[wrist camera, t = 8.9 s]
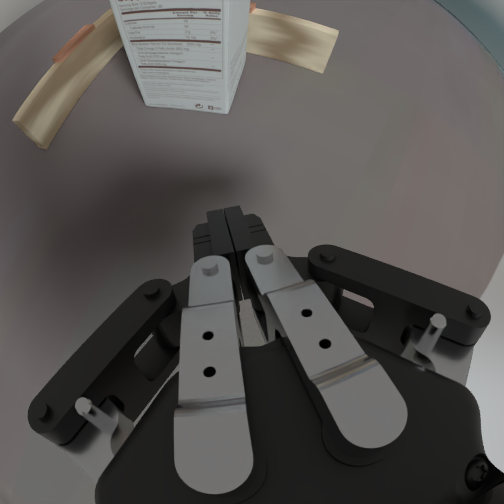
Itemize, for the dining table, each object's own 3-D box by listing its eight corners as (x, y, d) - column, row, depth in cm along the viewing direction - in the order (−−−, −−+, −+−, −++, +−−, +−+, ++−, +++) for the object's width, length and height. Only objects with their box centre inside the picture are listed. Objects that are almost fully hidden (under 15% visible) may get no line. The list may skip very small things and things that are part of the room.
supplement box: (172, 55, 21) (156, -51, 9) (247, 62, 21) (259, -53, 9) (142, 108, 20) (100, -15, 7) (228, 117, 20) (232, -27, 8)
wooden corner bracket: (39, 148, 18) (8, 116, 13) (126, 34, 22) (116, -1, 16) (282, 214, 19) (302, 179, 13) (324, 67, 22) (340, 26, 17)
